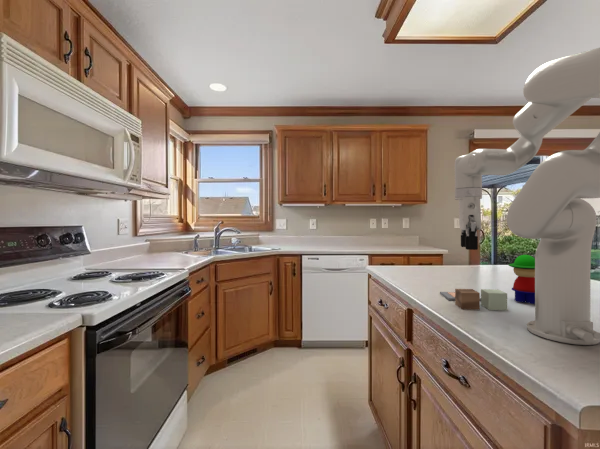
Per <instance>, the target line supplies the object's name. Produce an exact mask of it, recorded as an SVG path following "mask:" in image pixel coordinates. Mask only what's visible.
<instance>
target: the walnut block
mask: <svg viewBox="0 0 600 449" xmlns="http://www.w3.org/2000/svg"><path fill="white" fill-rule="evenodd" d="M454 292H455V301H454V302H455V303H454V304H455V306H457V307H458V308H459V309H461V310H477V311H478V310H480V309H481V307H480V306H481V301H480V298H481V292H479V291H477V290H475V289H474V288H455V290H454Z"/></svg>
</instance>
